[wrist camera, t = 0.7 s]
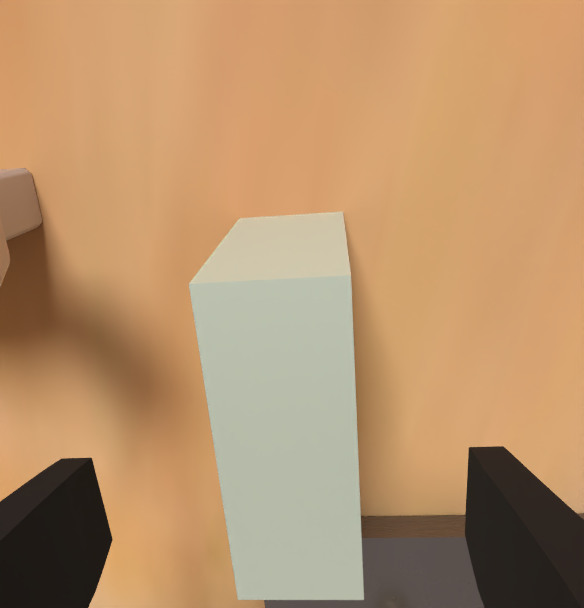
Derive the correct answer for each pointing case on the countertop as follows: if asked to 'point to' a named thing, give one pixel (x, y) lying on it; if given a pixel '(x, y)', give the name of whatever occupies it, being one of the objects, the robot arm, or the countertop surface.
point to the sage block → (284, 404)
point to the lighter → (16, 210)
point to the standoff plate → (410, 566)
